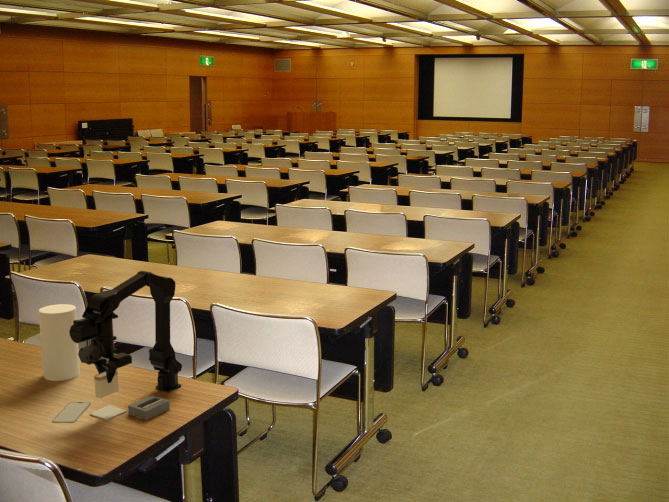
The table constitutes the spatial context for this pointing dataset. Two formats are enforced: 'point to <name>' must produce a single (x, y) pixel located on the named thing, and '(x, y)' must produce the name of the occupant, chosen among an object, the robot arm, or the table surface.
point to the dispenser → (148, 407)
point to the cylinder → (58, 342)
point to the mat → (108, 412)
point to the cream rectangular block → (105, 385)
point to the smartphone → (71, 412)
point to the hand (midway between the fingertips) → (106, 381)
